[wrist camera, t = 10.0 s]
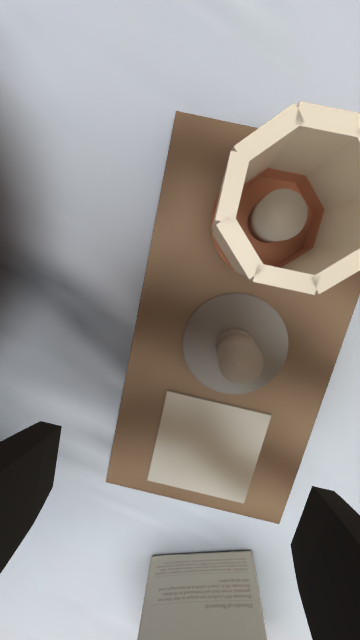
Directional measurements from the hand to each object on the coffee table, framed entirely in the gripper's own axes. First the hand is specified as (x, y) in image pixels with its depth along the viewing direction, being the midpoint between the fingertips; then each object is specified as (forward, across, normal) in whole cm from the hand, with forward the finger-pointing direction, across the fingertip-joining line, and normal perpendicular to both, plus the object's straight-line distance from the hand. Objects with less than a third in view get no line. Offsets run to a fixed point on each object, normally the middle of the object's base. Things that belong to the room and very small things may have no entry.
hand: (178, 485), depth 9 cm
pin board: (+10, -2, -2) cm, 11 cm away
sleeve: (+9, -2, -8) cm, 12 cm away
